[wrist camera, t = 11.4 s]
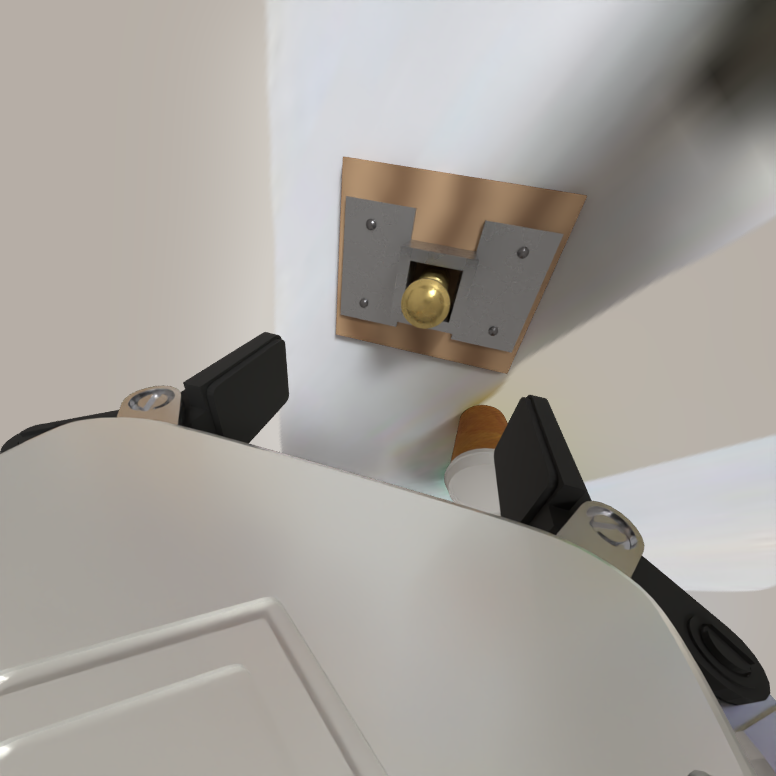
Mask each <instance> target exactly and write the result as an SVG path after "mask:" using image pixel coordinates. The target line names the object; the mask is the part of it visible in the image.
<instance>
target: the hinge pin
mask: <svg viewBox="0 0 776 776" xmlns="http://www.w3.org/2000/svg"><path fill="white" fill-rule="evenodd" d="M449 280H450V275H449V271H448V270H447V268H445V267H440V266H435V265H429V266H427V267H426V268H425V270H424V271H423V273H422V274H421V276H420V278H419V279H418V280H416V281H414V282H413V283H411V284H410V285H409V286H408V287H407V289H406V290H405V292H404V294H403V296H402V300H401V309H402V313H403V315H404V317H405V318H406V320H407V321H408V322H409V323H410V324H412V325H413V326H415V327H418V328H423V329H427V328H433V327H435V326H437V325H439V324H440V323H441V322H443V320H444V319H445V318H446V316H447V314H448V312H449V308H450V296H449V293H448V285H449Z"/></svg>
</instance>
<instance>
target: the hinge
mask: <svg viewBox="0 0 776 776" xmlns="http://www.w3.org/2000/svg"><path fill="white" fill-rule="evenodd" d="M416 210H417V208H412V207H407V206H401V205H395V204H390V203H384V202H378V201H372V200H367V199H361V198H355V197H350V196H346V206H345V227H344V249H343V270H342V291H341V313H340V315H345V316H349V317H354V318H358V319H363V320H367V321H372V322H376V323H381V324H385V325H390V326H394V327H396V326H397V323H398V322H400V323H405V324H409V325H412V324H410V323H409V322H408V321H407V320H406V318H405V317H404V315H403V313H402V309H401V300H402V296H403V294H404V292H405V290H406V289H407V287H408V286H409V285H410V284H411V283H413V282H414V277H415V271H416V266H417V262H420V263H425V264H430V265H435V266H440V267H445V268H450V269H455V270H460V274H459V278H458V281H457V285H456V289H455V292H454V296H453V300H452V303H451V305H450V308H449V312H448V314H447V316H446V318H445V319H444V320H443V322H441V323H440V324H439V325H437V326H435V327H433V328H428V329H432V330H437V331H441V332H446V333H450V334H452V336H451V339H453V340H457V341H462V342H466V343H471V344H475V345H479V346H484V347H488V348H493V349H497V350H502V351H506V352H511V353H512V351H513V348H514V346H515V344H516V342H517V339H518V337H519V335H520V333H521V330H522V328H523V326H524V323H525V321H526V319H527V317H528V314H529V312H530V310H531V308H532V305H533V303H534V301H535V298H536V296H537V294H538V292H539V289H540V287H541V285H542V282H543V280H544V278H545V276H546V273H547V271H548V269H549V267H550V264H551V262H552V260H553V257H554V255H555V253H556V251H557V248H558V246H559V244H560V242H561V239H562V237H563V235H564V234H561V233H555V232H549V231H544V230H538V229H532V228H526V227H521V226H515V225H509V224H504V223H498V222H492V221H486V220H485V223H484V226H483V230H482V233H481V236H480V240H479V243H478V247H477V250H476V251H471V250H465V249H460V248H455V247H449V246H444V245H439V244H433V243H428V242H423V241H417V240H412V234H413V228H414V222H415V216H416Z"/></svg>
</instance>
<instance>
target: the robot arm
mask: <svg viewBox="0 0 776 776" xmlns="http://www.w3.org/2000/svg"><path fill="white" fill-rule="evenodd" d="M183 384H184V387H185V390H184V391H182V392H180V391H179V390H178V389H177V388H174V387H172V386H153V387H148V388H144V389H141V390H138V391H136V392H134V393H132V394H130V395H129V396H128V397H126V398H125V399H124V400H123V402H122V403H121V407H120V409H119V410H116V411H110V412H105V413H100V414H94V415H89V416H83V417H78V418H73V419H68V420H62V421H56V422H51V423H46V424H39V425H35V426H32V427H30V428H27V429H25V430H24V431H22V432H20V433H19V434H17V435H15V436H14V437H12V438H11V439H10V440H8V441H7V442H6V443H5V444H4V445H3V447H2V448H1V451H0V776H776V700H775V699H774V698H773V697H772V696H771V695H770V685H769V681H768V679H767V676H766V674H765V672H764V669H763V668H762V666H761V664H760V663H759V661H758V660H757V658H756V657H755V655H754V654H753V653H752V652H751V650H750V649H749V648H748V647H747V646H746V645H745V643H744V642H743V641H742V640H741V639H740V638H739V637H738V636H737V635H736V634H735V633H734V632H732V631H731V630H730V629H729V628H728V627H727V626H726V625H725V624H723V623H722V622H721V621H720V620H719V619H717V618H716V617H715V616H714V615H713V614H711V613H710V612H709V611H708V610H707V609H705V608H704V607H703V606H702V605H701V604H699V603H698V602H697V601H696V600H695V599H693V598H692V597H691V596H690V595H688V594H687V593H686V592H685V591H684V590H683V589H681V588H680V587H679V586H678V585H677V584H675V583H674V582H673V581H672V580H671V579H669V578H668V577H667V576H666V575H665V574H663V573H662V572H661V571H660V570H659V569H657V568H656V567H655V566H654V565H653V564H651V563H650V562H649V561H648V560H647V559H645V558H644V557H643V556H642V554H643V552H644V542H643V539H642V536H641V535H640V533H639V531H638V530H637V528H636V527H635V526H634V525H633V524H632V523H631V521H630V520H629V519H627V518H626V517H625V516H624V515H623V514H621V513H620V512H619V511H617V510H616V509H614V508H612V507H611V506H608V505H606V504H604V503H601V502H596V501H591V498H590V496H589V494H588V492H587V489H586V487H585V484H584V482H583V480H582V478H581V475H580V473H579V471H578V469H577V466H576V464H575V462H574V460H573V457H572V455H571V453H570V450H569V448H568V446H567V443H566V441H565V439H564V437H563V434H562V432H561V430H560V427H559V425H558V423H557V421H556V418H555V416H554V414H553V412H552V409H551V407H550V405H549V402H548V400H547V399H545V398H542V397H537V396H533V395H528V396H527V397H526V398H525V397H522V398H521V399H520V401H519V403H518V405H517V407H516V409H515V411H514V413H513V414H512V416H511V418H510V420H509V422H508V424H507V426H506V428H505V430H504V432H503V434H502V436H501V438H500V440H499V442H498V444H497V446H496V448H495V450H494V464H495V472H496V481H497V489H498V497H499V505H500V513H501V516H498V515H495V514H491V513H488V512H485V511H481V510H478V509H475V508H471V507H468V506H465V505H461V504H458V503H455V502H451V501H448V500H444V499H441V498H437V497H434V496H431V495H427V494H424V493H420V492H417V491H413V490H410V489H407V488H403V487H400V486H396V485H393V484H389V483H386V482H382V481H379V480H375V479H372V478H368V477H365V476H361V475H358V474H354V473H351V472H347V471H344V470H340V469H337V468H333V467H330V466H326V465H323V464H319V463H316V462H312V461H309V460H305V459H302V458H298V457H295V456H291V455H287V454H284V453H280V452H277V451H273V450H269V449H266V448H262V447H259V446H255V445H252V444H249V443H250V441H251V440H252V439H253V438H254V437H255V436H256V435H257V434H258V433H259V432H260V430H261V429H262V428H263V427H264V426H265V425H266V424H267V423H268V422H269V421H270V420H271V418H272V417H273V416H274V415H275V414H276V413H277V412H278V411H279V410H280V409H281V407H282V406H283V405H284V404H285V403H286V402H287V400H288V397H289V388H288V375H287V362H286V349H285V342H284V340H282V339H281V337H280V336H279V335H276V334H271V333H267V332H264V333H262V334H261V335H259V336H257V337H256V338H254V339H252V340H251V341H249V342H248V343H246V344H244V345H243V346H241V347H239V348H238V349H236V350H235V351H233V352H231V353H230V354H228V355H227V356H225V357H223V358H222V359H220V360H219V361H217V362H215V363H214V364H212V365H211V366H209V367H207V368H206V369H204V370H202V371H201V372H199V373H198V374H196V375H194V376H193V377H191V378H190V379H188V380H186V381H185V382H184V383H183Z"/></svg>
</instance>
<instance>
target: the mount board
mask: <svg viewBox="0 0 776 776" xmlns="http://www.w3.org/2000/svg"><path fill="white" fill-rule="evenodd" d="M346 196H350V197H355V198H361V199H367V200H372V201H378V202H384V203H390V204H395V205H401V206H407V207H412V208H417V210H416V216H415V222H414V228H413V234H412V240H417V241H423V242H428V243H433V244H439V245H444V246H449V247H455V248H460V249H465V250H471V251H476V250H477V247H478V243H479V240H480V236H481V233H482V230H483V226H484V223H485V220H486V221H492V222H498V223H504V224H509V225H515V226H521V227H526V228H532V229H538V230H544V231H549V232H555V233H561V234H564V235H563V237H562V239H561V242H560V244H559V246H558V248H557V251H556V253H555V255H554V257H553V260H552V262H551V264H550V267H549V269H548V271H547V273H546V276H545V278H544V280H543V282H542V285H541V287H540V289H539V292H538V294H537V296H536V298H535V301H534V303H533V305H532V308H531V310H530V312H529V314H528V317H527V319H526V321H525V323H524V326H523V328H522V330H521V333H520V335H519V337H518V339H517V342H516V344H515V346H514V348H513V351H512V353H511V352H506V351H502V350H497V349H493V348H488V347H484V346H479V345H475V344H471V343H466V342H462V341H457V340H453V339H451V336H452V334H450V333H446V332H441V331H437V330H432V329H428V328H427V329H423V328H418V327H415V326H413V325H409V324H405V323H400V322H398V323H397V326H396V327H394V326H390V325H385V324H381V323H376V322H372V321H367V320H363V319H358V318H354V317H349V316H345V315H340V313H341V291H342V270H343V249H344V227H345V206H346ZM586 198H587V195H581V194H575V193H568V192H562V191H556V190H550V189H543V188H537V187H531V186H525V185H518V184H512V183H506V182H500V181H493V180H487V179H481V178H475V177H468V176H462V175H456V174H450V173H443V172H437V171H431V170H425V169H418V168H412V167H406V166H400V165H393V164H387V163H381V162H375V161H368V160H362V159H356V158H350V157H343V166H342V191H341V217H340V243H339V268H338V294H337V319H336V334H337V335H341V336H346V337H350V338H354V339H359V340H363V341H367V342H372V343H376V344H380V345H385V346H389V347H393V348H398V349H402V350H406V351H411V352H415V353H419V354H424V355H428V356H432V357H437V358H441V359H445V360H450V361H454V362H458V363H463V364H467V365H471V366H476V367H480V368H484V369H489V370H493V371H497V372H502V373H506V374H507V373H508V371H509V369H510V366H511V364H512V362H513V360H514V357H515V355H516V353H517V351H518V349H519V346H520V344H521V342H522V340H523V337H524V335H525V333H526V331H527V329H528V326H529V324H530V322H531V320H532V318H533V315H534V313H535V311H536V309H537V306H538V304H539V302H540V300H541V298H542V295H543V293H544V291H545V289H546V286H547V284H548V282H549V280H550V278H551V275H552V273H553V271H554V269H555V267H556V264H557V262H558V260H559V258H560V255H561V253H562V251H563V249H564V247H565V244H566V242H567V240H568V238H569V235H570V233H571V231H572V229H573V227H574V224H575V222H576V220H577V218H578V216H579V213H580V211H581V209H582V207H583V204H584V202H585V200H586ZM429 265H430V264H425V263H420V262H417V266H416V271H415V277H414V281H416V280H418V279H419V278H420V276H421V274H422V273H423V271H424V270H425V268H426V267H427V266H429ZM447 270H448V271H449V275H450V280H449V285H448V293H449V296H450V305H451V303H452V300H453V296H454V292H455V289H456V285H457V281H458V278H459V274H460V270H455V269H450V268H447Z"/></svg>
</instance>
